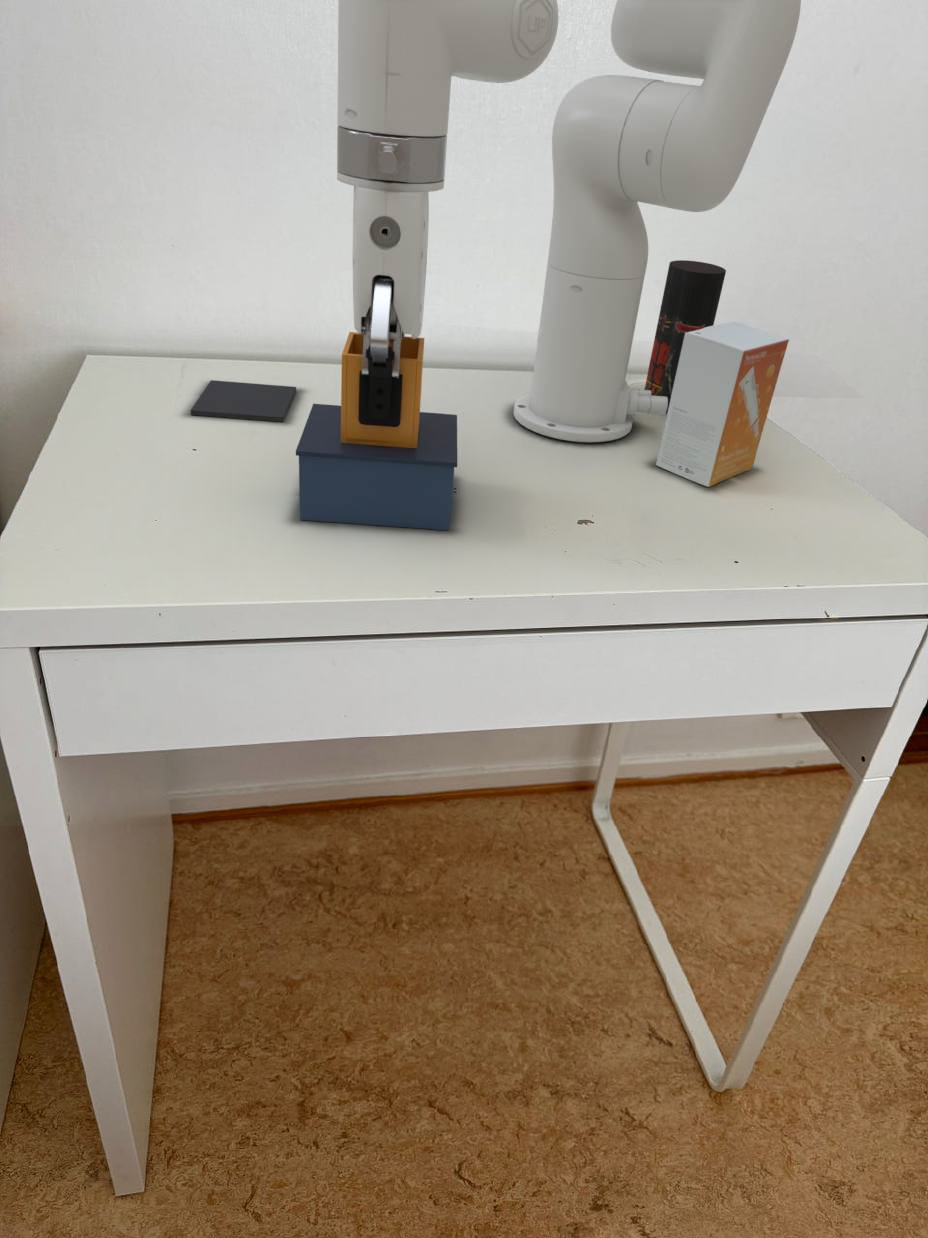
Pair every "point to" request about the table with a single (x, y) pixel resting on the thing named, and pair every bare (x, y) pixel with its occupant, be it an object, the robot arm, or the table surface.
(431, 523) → the storage tub
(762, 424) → the small box
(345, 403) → the amber container
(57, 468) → the table surface
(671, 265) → the deodorant
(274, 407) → the rubber mat
